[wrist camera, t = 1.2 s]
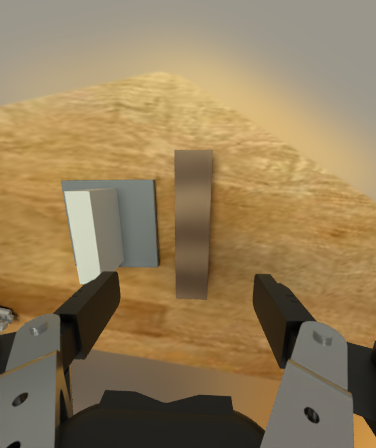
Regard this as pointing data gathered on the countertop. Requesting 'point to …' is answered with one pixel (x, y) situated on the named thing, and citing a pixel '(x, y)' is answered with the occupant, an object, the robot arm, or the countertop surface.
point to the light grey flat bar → (5, 318)
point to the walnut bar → (192, 222)
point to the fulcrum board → (130, 218)
